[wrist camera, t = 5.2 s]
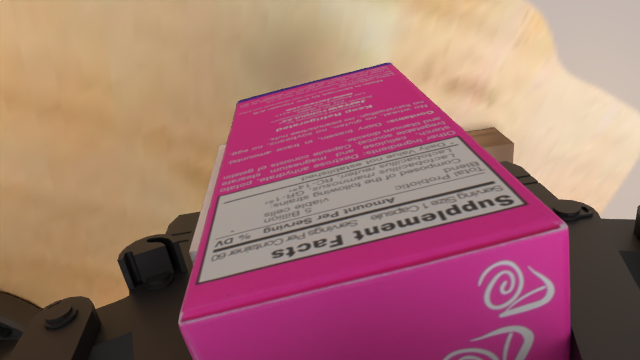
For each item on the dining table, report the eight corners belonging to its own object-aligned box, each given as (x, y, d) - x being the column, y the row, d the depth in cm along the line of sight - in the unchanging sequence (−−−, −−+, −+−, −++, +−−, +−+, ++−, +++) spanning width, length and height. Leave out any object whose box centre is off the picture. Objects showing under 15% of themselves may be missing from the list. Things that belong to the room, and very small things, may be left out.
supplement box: (422, 199, 19) (583, 496, 9) (276, 233, 19) (266, 561, 9) (398, 54, 16) (585, 229, 6) (231, 97, 17) (144, 331, 6)
